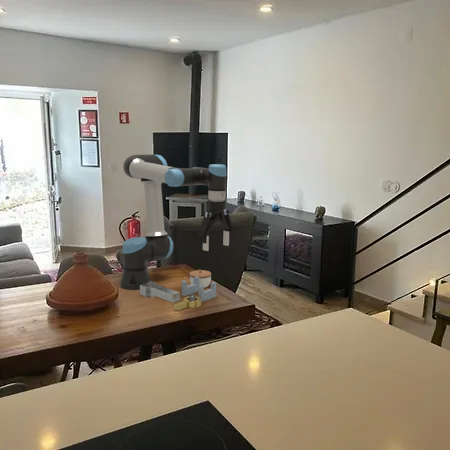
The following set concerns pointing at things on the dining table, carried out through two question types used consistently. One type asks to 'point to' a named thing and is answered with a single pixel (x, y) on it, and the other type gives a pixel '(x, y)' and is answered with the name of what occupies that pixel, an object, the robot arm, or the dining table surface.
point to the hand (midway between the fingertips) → (216, 247)
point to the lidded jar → (201, 277)
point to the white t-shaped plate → (159, 292)
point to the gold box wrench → (188, 303)
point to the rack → (199, 289)
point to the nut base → (192, 297)
